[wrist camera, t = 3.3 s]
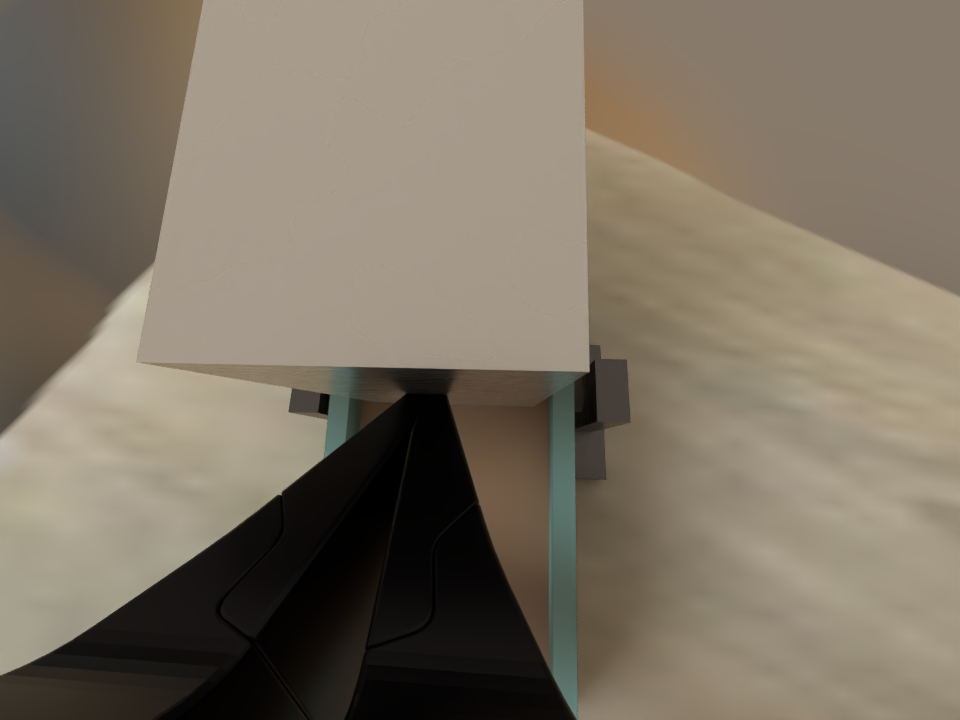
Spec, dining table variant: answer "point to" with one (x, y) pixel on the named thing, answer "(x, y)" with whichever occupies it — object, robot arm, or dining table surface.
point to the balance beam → (517, 505)
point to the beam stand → (599, 412)
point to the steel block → (379, 201)
